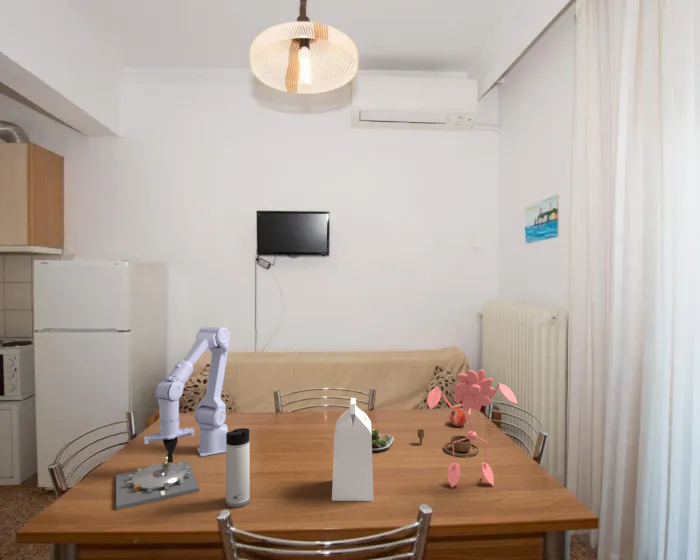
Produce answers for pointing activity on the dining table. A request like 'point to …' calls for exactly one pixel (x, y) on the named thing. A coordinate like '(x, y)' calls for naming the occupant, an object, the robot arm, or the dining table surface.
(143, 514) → the dining table surface
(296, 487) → the dining table surface
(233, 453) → the travel mug
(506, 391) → the figurine
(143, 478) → the sprocket
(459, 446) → the place setting
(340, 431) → the milk
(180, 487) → the timing board
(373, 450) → the salad plate
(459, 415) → the pomegranate
